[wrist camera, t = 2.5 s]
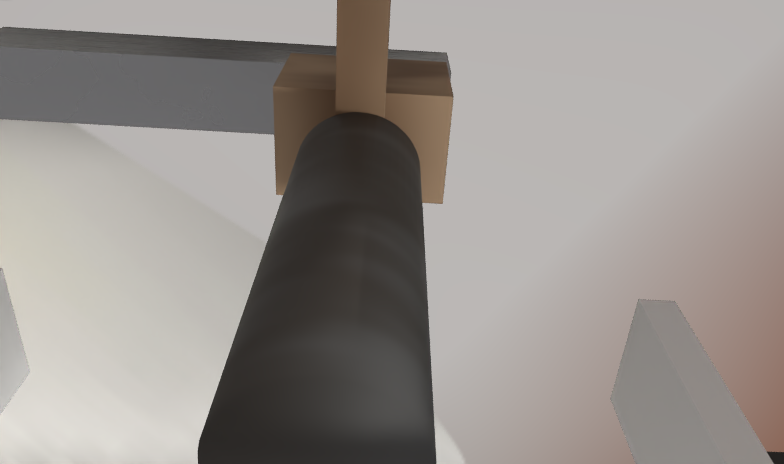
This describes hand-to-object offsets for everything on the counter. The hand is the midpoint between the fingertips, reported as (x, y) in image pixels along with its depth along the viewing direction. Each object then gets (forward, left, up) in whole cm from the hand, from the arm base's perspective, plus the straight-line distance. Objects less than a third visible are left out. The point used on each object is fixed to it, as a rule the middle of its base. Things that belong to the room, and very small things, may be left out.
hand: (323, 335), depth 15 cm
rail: (+5, +3, -18) cm, 19 cm away
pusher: (+3, -5, -18) cm, 19 cm away
